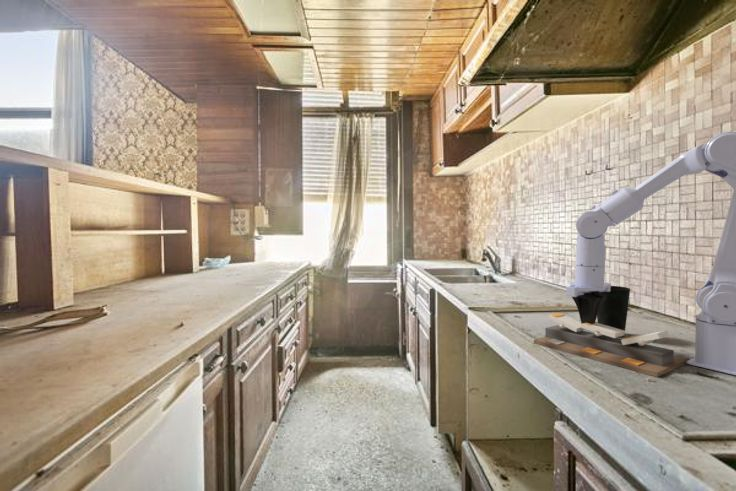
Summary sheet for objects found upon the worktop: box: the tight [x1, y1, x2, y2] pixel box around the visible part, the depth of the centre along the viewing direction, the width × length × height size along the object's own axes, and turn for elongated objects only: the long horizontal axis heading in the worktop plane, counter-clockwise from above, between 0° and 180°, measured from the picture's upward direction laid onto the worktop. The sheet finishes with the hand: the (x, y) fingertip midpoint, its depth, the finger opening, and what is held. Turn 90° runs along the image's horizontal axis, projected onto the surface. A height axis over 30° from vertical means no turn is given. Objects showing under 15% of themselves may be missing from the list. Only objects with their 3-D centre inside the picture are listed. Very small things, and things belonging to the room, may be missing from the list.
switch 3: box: [621, 330, 670, 346], centre depth 76 cm, size 7×4×2 cm, turn 31°
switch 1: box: [548, 312, 587, 332], centre depth 90 cm, size 7×4×2 cm, turn 31°
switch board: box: [533, 324, 690, 378], centre depth 82 cm, size 25×14×3 cm, turn 31°
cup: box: [596, 285, 631, 338], centre depth 96 cm, size 8×8×12 cm
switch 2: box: [582, 321, 626, 338], centre depth 83 cm, size 7×4×2 cm, turn 31°
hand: (587, 325), depth 85 cm, fingers closed, pressing on switch 2
